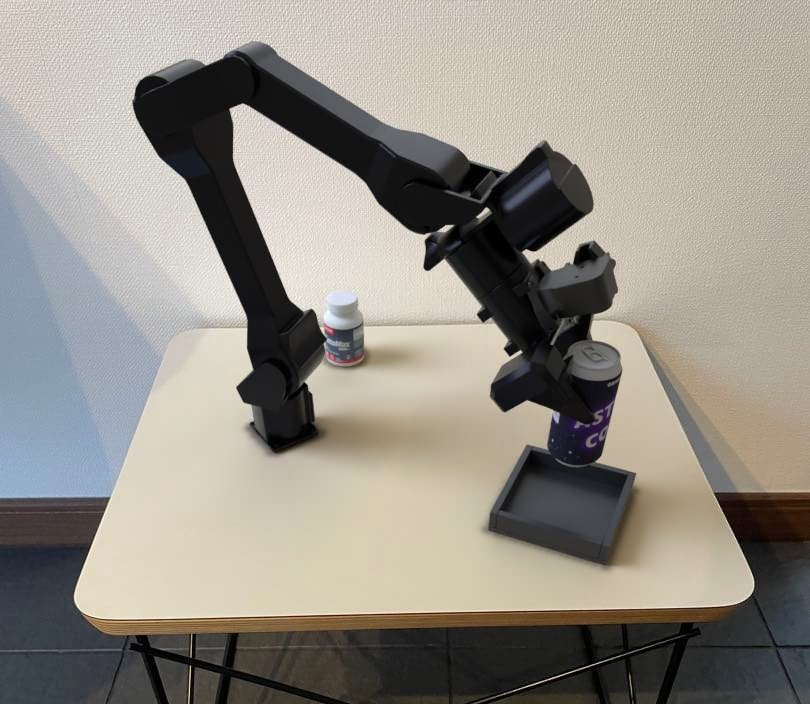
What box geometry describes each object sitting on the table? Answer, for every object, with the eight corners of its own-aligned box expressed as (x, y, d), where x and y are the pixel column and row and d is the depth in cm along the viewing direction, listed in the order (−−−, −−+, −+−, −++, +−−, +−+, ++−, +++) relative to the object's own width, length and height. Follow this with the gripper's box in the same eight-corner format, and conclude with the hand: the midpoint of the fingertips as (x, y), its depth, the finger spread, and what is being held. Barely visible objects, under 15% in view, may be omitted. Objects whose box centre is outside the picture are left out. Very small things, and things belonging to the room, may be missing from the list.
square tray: (487, 530, 81) (489, 512, 79) (524, 461, 89) (526, 443, 88) (604, 565, 78) (609, 547, 76) (631, 490, 86) (636, 472, 84)
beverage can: (563, 477, 77) (583, 375, 69) (536, 444, 81) (552, 344, 72) (611, 464, 79) (637, 363, 70) (582, 433, 82) (604, 333, 74)
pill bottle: (319, 361, 105) (313, 301, 98) (339, 343, 108) (334, 284, 102) (352, 371, 103) (349, 310, 97) (371, 353, 106) (369, 293, 100)
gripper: (543, 273, 58) (655, 425, 63) (595, 186, 70) (685, 319, 75) (441, 344, 66) (548, 474, 71) (504, 254, 78) (591, 371, 83)
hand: (597, 405), depth 75 cm, fingers closed on beverage can, 5 cm apart
